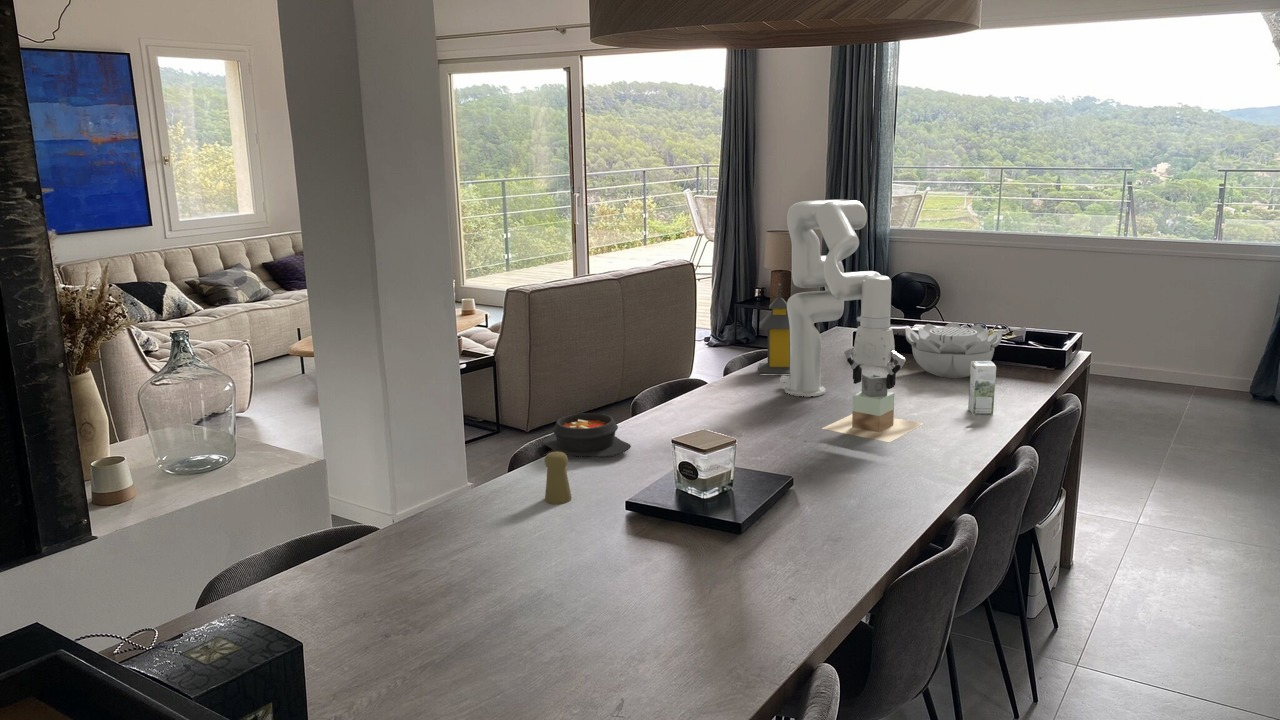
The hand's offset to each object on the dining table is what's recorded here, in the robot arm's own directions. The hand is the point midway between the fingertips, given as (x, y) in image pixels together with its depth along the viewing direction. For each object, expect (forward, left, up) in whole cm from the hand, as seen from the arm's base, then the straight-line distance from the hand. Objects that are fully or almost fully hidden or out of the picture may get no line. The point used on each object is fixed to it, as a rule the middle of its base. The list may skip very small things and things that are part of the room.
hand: (873, 385), depth 252 cm
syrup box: (+16, +34, -13) cm, 40 cm away
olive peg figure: (-33, -86, -13) cm, 93 cm away
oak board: (0, 0, -13) cm, 13 cm away
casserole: (-52, -58, -13) cm, 79 cm away
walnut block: (0, 0, -11) cm, 11 cm away
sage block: (0, 0, -7) cm, 7 cm away
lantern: (-58, +43, -13) cm, 74 cm away
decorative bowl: (-9, +69, -13) cm, 71 cm away
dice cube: (0, 0, -3) cm, 3 cm away
